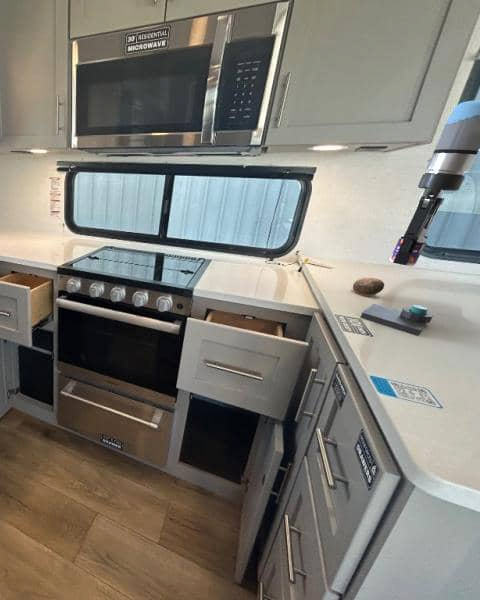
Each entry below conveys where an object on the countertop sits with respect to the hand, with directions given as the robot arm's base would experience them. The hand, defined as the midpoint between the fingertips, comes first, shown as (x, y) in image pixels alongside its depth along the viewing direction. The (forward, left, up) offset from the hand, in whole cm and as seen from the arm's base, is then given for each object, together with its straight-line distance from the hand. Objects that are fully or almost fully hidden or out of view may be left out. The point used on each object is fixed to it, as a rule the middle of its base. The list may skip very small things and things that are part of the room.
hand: (402, 262), depth 91 cm
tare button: (-8, +2, -12) cm, 14 cm away
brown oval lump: (+7, -14, -15) cm, 22 cm away
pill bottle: (0, 0, -1) cm, 1 cm away
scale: (-4, +6, -15) cm, 17 cm away
